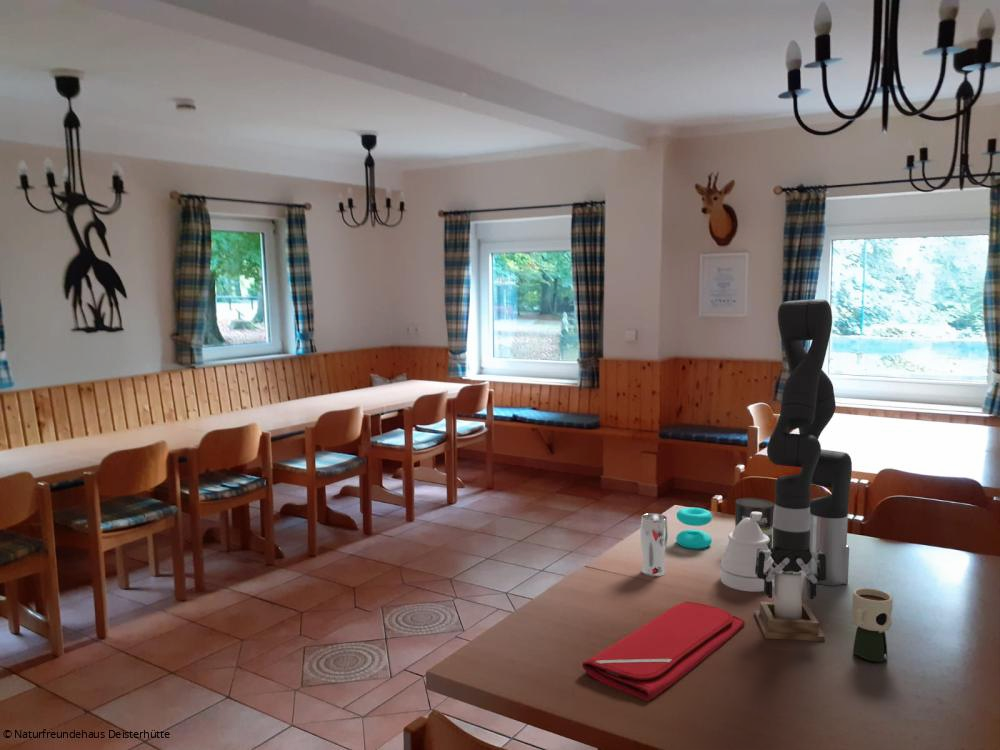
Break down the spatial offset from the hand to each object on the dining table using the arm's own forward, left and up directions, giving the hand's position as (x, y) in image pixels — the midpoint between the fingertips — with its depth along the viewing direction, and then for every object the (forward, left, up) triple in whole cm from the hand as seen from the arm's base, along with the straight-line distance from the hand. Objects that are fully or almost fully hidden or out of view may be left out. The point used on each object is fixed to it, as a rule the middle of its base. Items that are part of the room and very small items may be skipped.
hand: (789, 597), depth 164 cm
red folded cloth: (+27, +13, -8) cm, 31 cm away
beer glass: (+27, -30, -7) cm, 41 cm away
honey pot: (+4, -26, -7) cm, 27 cm away
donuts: (+14, -54, -7) cm, 56 cm away
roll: (0, 0, -6) cm, 6 cm away
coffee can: (-2, -50, -7) cm, 50 cm away
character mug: (-13, +12, -7) cm, 19 cm away
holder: (0, 0, -7) cm, 7 cm away
